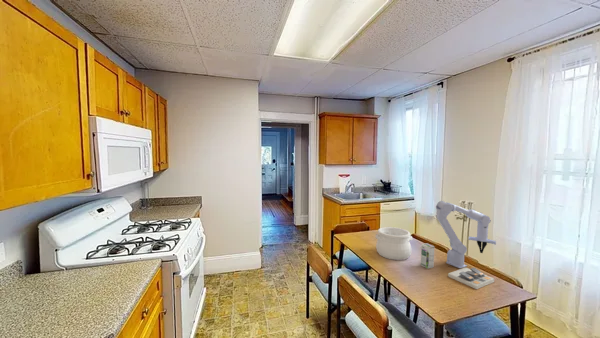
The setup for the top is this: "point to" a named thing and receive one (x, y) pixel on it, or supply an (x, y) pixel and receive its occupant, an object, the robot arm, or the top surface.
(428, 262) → the syrup box
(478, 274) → the rocker
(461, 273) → the rocker
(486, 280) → the switch panel
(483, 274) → the rocker
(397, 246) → the pot
